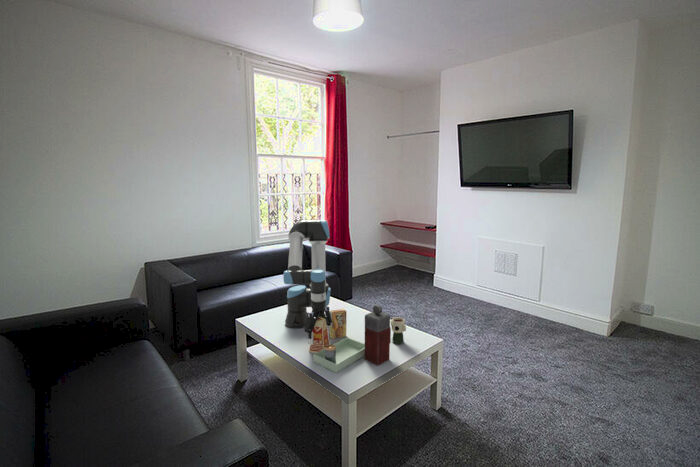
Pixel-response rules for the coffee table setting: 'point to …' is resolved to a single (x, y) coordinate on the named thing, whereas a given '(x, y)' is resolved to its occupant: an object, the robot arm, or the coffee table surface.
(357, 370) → the coffee table surface
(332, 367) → the pale green tray
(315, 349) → the milk carton
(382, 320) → the toy vending machine
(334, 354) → the coffee tin
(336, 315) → the candy box
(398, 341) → the character mug
